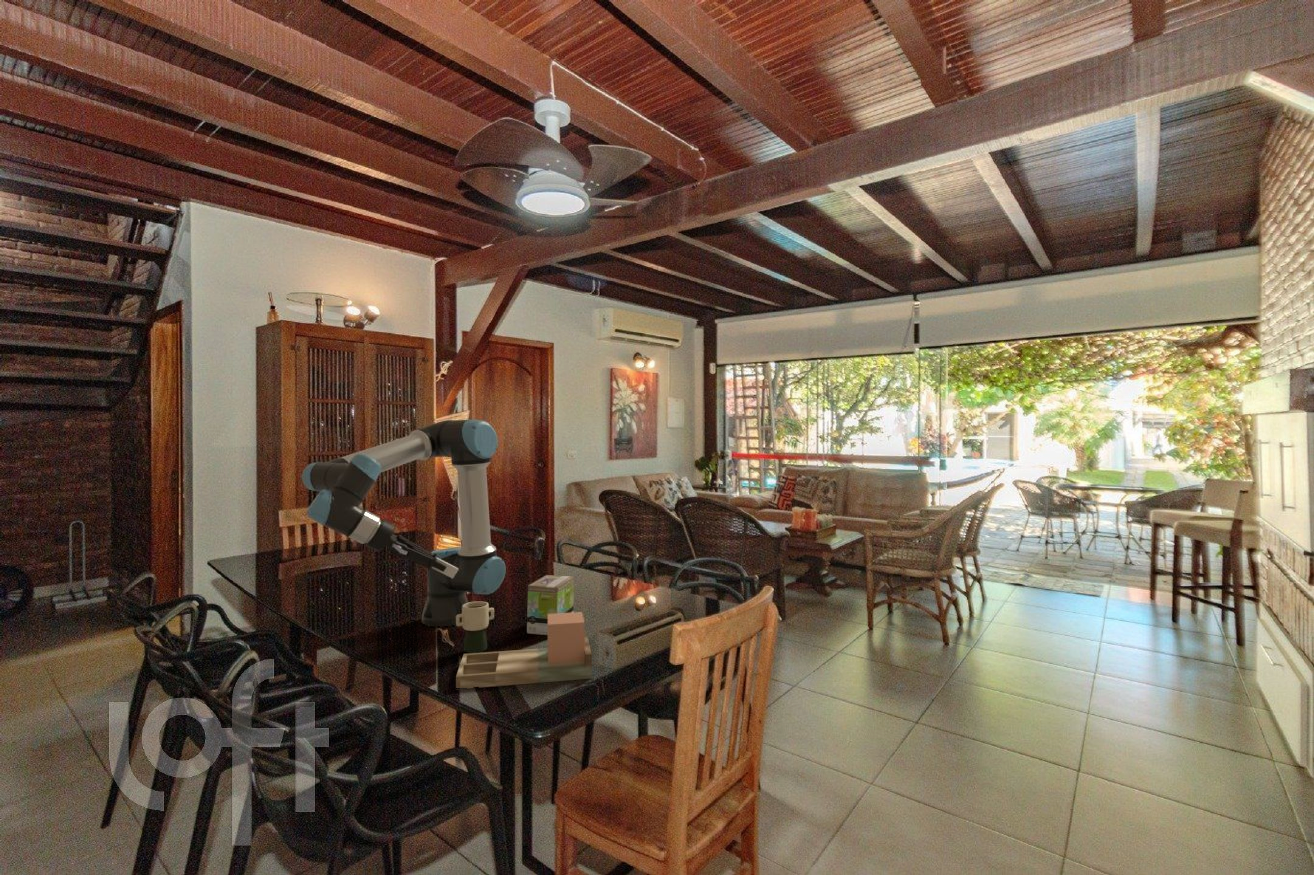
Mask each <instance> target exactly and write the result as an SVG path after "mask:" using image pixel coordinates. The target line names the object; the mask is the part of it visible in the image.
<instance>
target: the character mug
mask: <svg viewBox="0 0 1314 875" xmlns="http://www.w3.org/2000/svg"><path fill="white" fill-rule="evenodd" d="M489 613H490V615H489ZM460 617H462V622H460ZM494 619H495V608H494V607H490V606H489V602H487V601H481V600H480V601H478V600H477V601H476V600H475V601H470V602H469V601H468V603H465V604H463V606H462V614H458V615H456V625H455V626H456V627H462V628H463V630H465V636H464V642H463V651H464V652H466V653H469V654H471V653H484V651H486V650H487V649H488V641H487V634H486V631H485V629H487V628H488V626H489V624H490V622H489V621H491V620H494Z"/></svg>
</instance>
